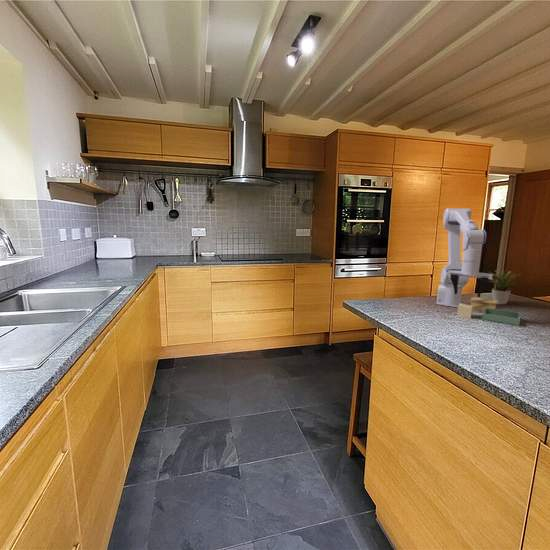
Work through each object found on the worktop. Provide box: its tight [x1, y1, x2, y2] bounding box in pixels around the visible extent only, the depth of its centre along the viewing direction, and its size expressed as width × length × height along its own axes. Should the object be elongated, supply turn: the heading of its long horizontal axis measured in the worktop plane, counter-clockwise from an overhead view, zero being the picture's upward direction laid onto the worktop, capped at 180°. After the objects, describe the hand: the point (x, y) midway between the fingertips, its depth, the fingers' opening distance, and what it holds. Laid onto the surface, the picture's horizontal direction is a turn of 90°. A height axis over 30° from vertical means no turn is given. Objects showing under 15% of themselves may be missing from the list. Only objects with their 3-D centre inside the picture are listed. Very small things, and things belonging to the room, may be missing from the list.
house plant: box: [487, 269, 521, 305], centre depth 139 cm, size 14×14×16 cm
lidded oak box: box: [470, 296, 498, 314], centre depth 125 cm, size 9×6×5 cm, turn 51°
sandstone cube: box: [456, 302, 473, 319], centre depth 118 cm, size 4×4×4 cm
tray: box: [481, 308, 521, 327], centre depth 114 cm, size 11×11×2 cm
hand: (467, 295), depth 117 cm, fingers open, 7 cm apart
